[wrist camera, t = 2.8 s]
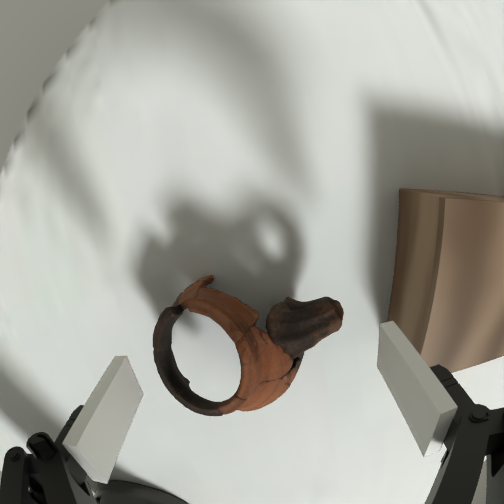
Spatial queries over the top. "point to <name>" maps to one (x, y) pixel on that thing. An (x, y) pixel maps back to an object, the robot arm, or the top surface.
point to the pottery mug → (246, 344)
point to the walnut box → (450, 276)
